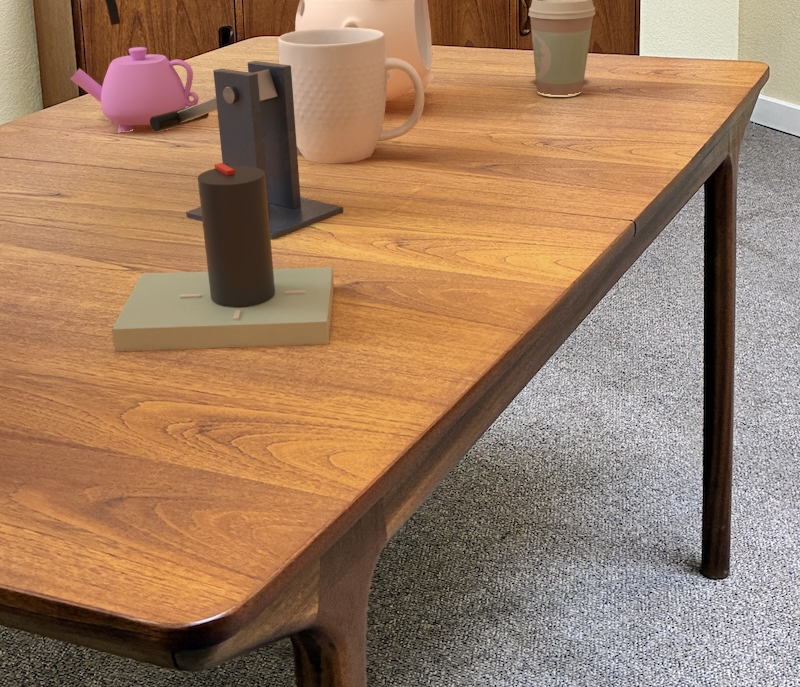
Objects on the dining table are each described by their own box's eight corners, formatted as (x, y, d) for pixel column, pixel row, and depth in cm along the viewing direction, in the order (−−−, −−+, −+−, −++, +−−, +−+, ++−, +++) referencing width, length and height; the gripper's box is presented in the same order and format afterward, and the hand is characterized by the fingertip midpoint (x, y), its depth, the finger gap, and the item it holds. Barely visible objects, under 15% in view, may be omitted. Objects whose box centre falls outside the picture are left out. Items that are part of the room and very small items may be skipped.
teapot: (196, 133, 131) (187, 53, 127) (68, 139, 131) (56, 58, 127) (206, 113, 140) (198, 38, 137) (87, 118, 140) (75, 43, 136)
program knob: (285, 297, 76) (275, 172, 72) (226, 312, 73) (212, 184, 70) (258, 278, 79) (248, 157, 75) (201, 291, 77) (187, 168, 73)
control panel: (117, 370, 73) (110, 326, 72) (146, 311, 82) (141, 271, 81) (329, 362, 73) (326, 318, 72) (335, 304, 82) (332, 264, 81)
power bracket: (187, 224, 100) (169, 70, 94) (258, 199, 107) (245, 53, 101) (273, 247, 94) (259, 84, 88) (343, 219, 100) (335, 65, 94)
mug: (423, 144, 123) (420, 23, 118) (427, 171, 113) (425, 41, 108) (289, 148, 123) (281, 28, 118) (282, 176, 113) (272, 46, 108)
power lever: (154, 138, 101) (145, 113, 101) (203, 125, 106) (195, 100, 105) (243, 105, 92) (234, 77, 92) (293, 92, 97) (284, 65, 96)
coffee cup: (532, 85, 150) (534, -7, 145) (596, 87, 147) (600, -7, 142) (521, 99, 142) (522, 3, 137) (588, 101, 140) (592, 3, 135)
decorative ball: (320, 90, 151) (310, -62, 143) (444, 90, 149) (442, -65, 140) (283, 125, 133) (270, -46, 125) (424, 126, 131) (420, -49, 123)
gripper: (-26, -243, 87) (37, 11, 86) (282, -282, 92) (346, -44, 91) (-8, -187, 94) (50, 48, 93) (276, -226, 99) (335, -4, 98)
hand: (196, 3), depth 92 cm, fingers open, 13 cm apart
